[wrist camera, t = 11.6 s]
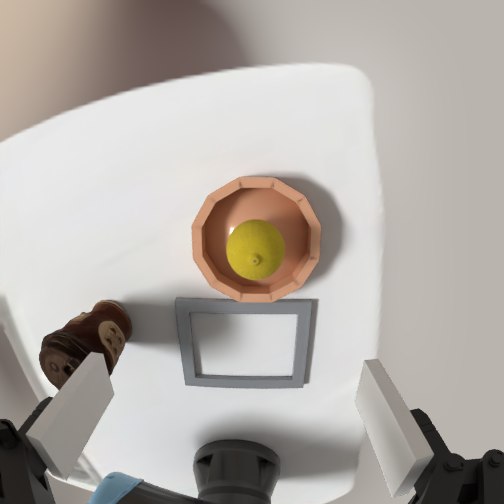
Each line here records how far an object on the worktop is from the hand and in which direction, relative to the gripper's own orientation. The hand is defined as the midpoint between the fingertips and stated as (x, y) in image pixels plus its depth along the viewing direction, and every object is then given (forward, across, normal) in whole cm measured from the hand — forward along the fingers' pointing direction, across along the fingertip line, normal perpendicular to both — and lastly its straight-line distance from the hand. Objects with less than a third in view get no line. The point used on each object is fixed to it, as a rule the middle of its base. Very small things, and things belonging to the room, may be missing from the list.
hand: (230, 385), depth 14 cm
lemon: (+21, -1, -3) cm, 21 cm away
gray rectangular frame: (+22, 0, +11) cm, 24 cm away
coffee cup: (+22, +18, +8) cm, 29 cm away
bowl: (+21, -1, -3) cm, 22 cm away
